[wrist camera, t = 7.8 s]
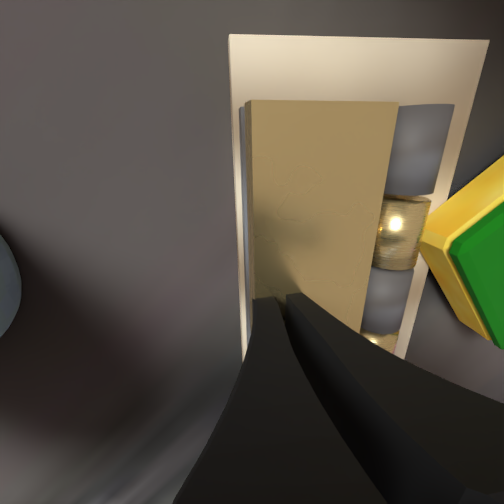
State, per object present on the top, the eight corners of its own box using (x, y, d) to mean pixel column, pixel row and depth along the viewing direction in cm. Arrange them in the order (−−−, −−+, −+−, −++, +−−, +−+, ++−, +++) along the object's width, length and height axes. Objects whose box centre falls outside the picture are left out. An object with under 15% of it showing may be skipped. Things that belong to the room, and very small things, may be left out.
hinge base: (227, 43, 9) (234, 1, 6) (468, 47, 10) (564, 13, 7) (244, 415, 16) (250, 470, 13) (383, 396, 17) (415, 444, 14)
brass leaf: (238, 106, 8) (257, 96, 6) (416, 107, 10) (473, 99, 8) (249, 420, 13) (261, 462, 12) (361, 387, 15) (387, 421, 13)
